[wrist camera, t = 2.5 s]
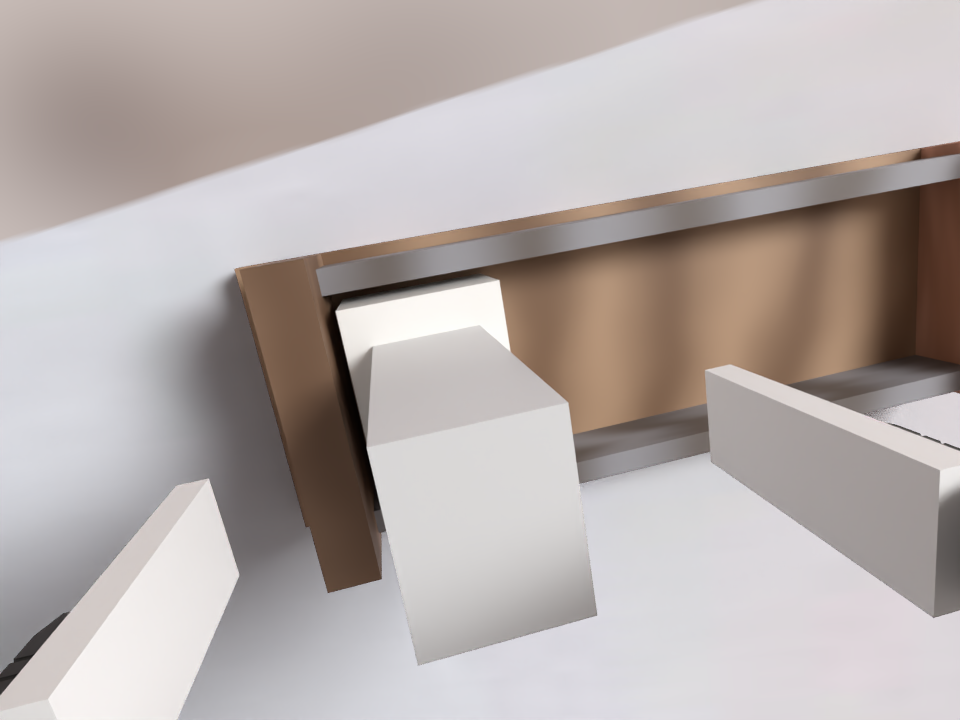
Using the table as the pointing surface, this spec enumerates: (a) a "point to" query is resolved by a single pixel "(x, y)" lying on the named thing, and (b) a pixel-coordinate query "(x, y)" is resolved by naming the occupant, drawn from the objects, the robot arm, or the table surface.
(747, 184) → the track
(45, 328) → the table surface
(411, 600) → the block
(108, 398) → the table surface
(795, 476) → the robot arm
